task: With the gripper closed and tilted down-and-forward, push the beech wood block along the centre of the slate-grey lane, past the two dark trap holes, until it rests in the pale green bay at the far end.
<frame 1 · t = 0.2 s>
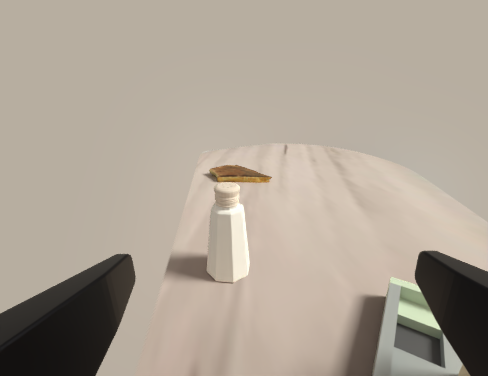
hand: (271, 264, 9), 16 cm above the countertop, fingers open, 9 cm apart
salt shaker: (228, 270, 34), on the countertop
shard: (240, 178, 67), on the countertop
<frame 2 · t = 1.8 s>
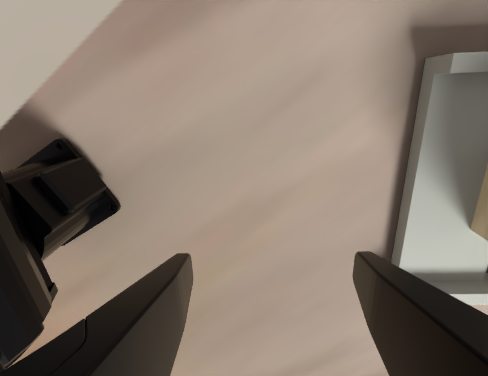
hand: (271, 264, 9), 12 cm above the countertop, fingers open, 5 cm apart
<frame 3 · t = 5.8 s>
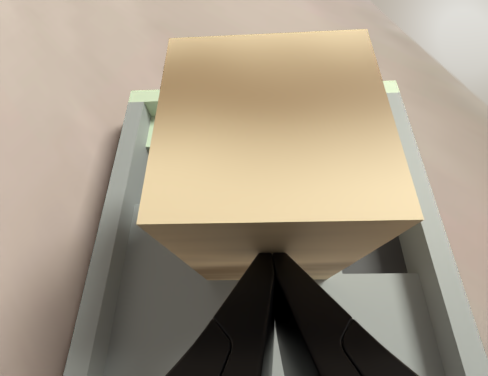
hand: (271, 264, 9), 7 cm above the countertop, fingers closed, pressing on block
block: (264, 222, 15), point 1 cm above the countertop, touching gripper
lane: (264, 241, 16), on the countertop
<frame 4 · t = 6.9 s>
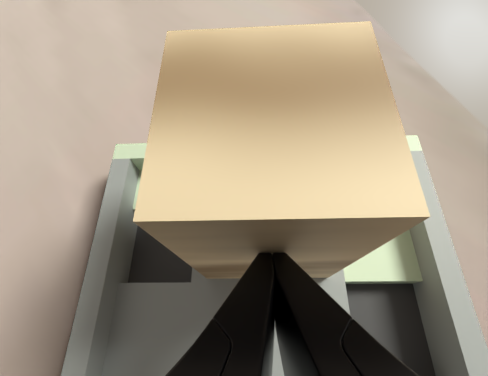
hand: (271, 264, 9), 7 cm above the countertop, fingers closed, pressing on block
block: (264, 220, 15), point 1 cm above the countertop, touching gripper, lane
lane: (267, 326, 14), on the countertop
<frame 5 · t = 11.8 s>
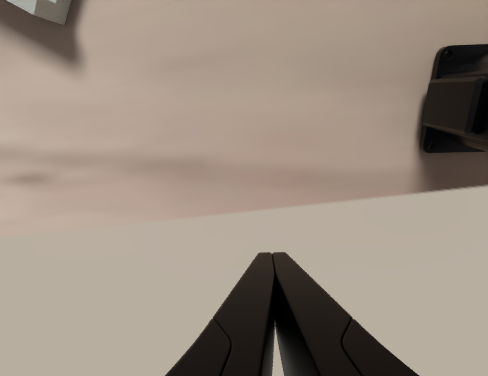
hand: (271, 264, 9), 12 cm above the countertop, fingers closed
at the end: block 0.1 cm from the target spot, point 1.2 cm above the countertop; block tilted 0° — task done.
